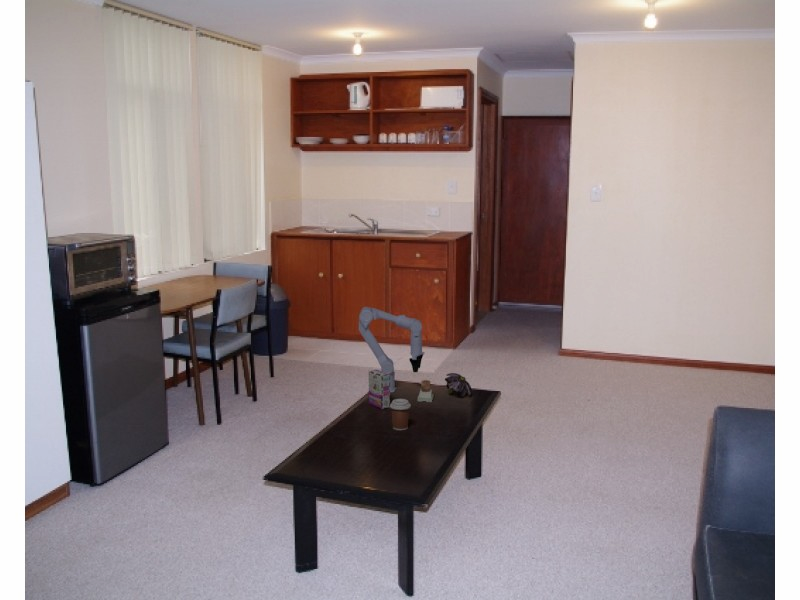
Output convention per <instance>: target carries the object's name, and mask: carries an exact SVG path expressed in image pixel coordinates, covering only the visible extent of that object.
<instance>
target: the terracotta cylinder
mask: <svg viewBox="0 0 800 600" xmlns="http://www.w3.org/2000/svg"><path fill="white" fill-rule="evenodd" d="M420 383H421V385H420V386H421V388H420V390H421V391H423V392H428V391H430V389H431V380H427V379H426V380H421V382H420Z"/></svg>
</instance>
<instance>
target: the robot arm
mask: <svg viewBox="0 0 800 600" xmlns="http://www.w3.org/2000/svg"><path fill="white" fill-rule="evenodd" d="M379 319H382V320H384V321H388V322H392V323H395V325H396V326H397V327H399V328H402V329H405V330H410V356H411V358H409V360H408V361H409V363H410V364H411V369H412V372H413V373H418V371H419V369H421V366H422V365H421V364H422V360H423V356H424V355H425V352H424V351H423V335H422V333H423V332H422V330H423V325H422V322H421V321H420V320H419V319H418V318H413V317H412V318H411V317H408V316H406V314H399V315H393V314H391V313H389V312H386V311H383V310H380V309H377V308H375V307H370V306H364V307H363V308H362V309H361V310H360V313H359V318H358V331H359V333H360V334H361V336H362V338H363V339H364V341H365V342H366V344H367V345H368V347H369V348H370V350H371V351H372V353H373V355H374V357H375V358H376V359H377V362H378V364H379V365H380V368H381V370H380V371H382V372H385V373H388V374H390V393H395V391H396V390H397V386H396V385H395V381H396V380H395V378H396V377H395V376H396V374H395V366H394V361H393V359H391V358H389V357H388V355H387V354H386V353H385V351H384V350H383V348H382V347H381V345H380V343H379V342H378V340H377V339H376V337H375V336H374V334H373V333H372V331H371V329H370V324H371V322H372V321H373V320H374V321H376V320H379ZM395 386H396V387H395Z"/></svg>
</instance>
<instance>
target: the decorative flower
mask: <svg viewBox="0 0 800 600" xmlns="http://www.w3.org/2000/svg"><path fill="white" fill-rule="evenodd" d="M445 376H446V377H445V378H444V381H445V382H446V384H445V386H446V388H447V389H448V390H447V391H446V392H447V393H448V395H449V394H450V395H453V394H457V395H459V396H460V398H461V399H463V398H464V397H465V396H466V394H467V393H468V398H470V397H472V395H473V391H472V387H471V386H472V385H470V383H469V381H468V380H467V379H466V377H465V376H462V375H461V374H460V373H456V372H452V373H451V372H450V373H447V374H445Z"/></svg>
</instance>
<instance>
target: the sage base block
mask: <svg viewBox="0 0 800 600" xmlns="http://www.w3.org/2000/svg"><path fill="white" fill-rule="evenodd" d="M434 396H435V394H434V393H432V396H431V398H430V397H420V392H419V394H418V396H417V402H422V401H426V402H427V403H432V402H433V401H432V400H434V398H435V397H434Z"/></svg>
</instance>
